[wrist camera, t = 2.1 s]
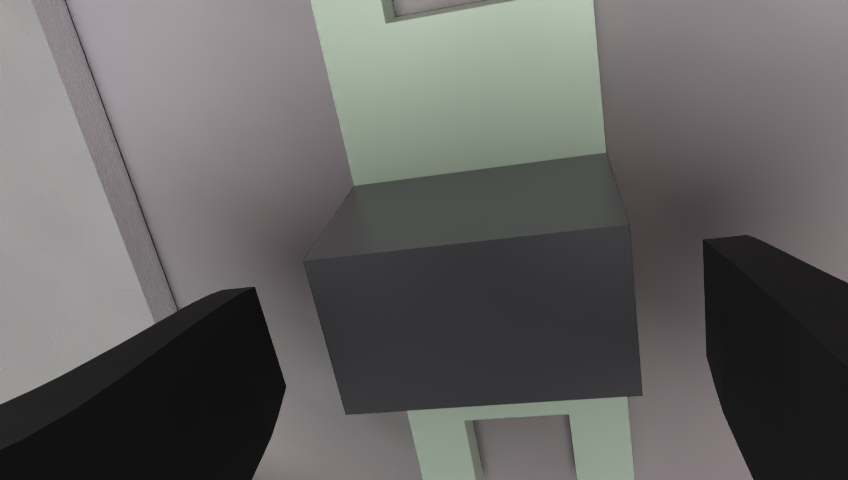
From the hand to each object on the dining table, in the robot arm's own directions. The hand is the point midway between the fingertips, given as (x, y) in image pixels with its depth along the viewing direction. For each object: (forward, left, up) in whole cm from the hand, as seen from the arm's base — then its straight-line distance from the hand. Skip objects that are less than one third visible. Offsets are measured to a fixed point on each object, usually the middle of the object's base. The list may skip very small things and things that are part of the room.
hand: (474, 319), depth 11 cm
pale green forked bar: (0, 0, -4) cm, 4 cm away
